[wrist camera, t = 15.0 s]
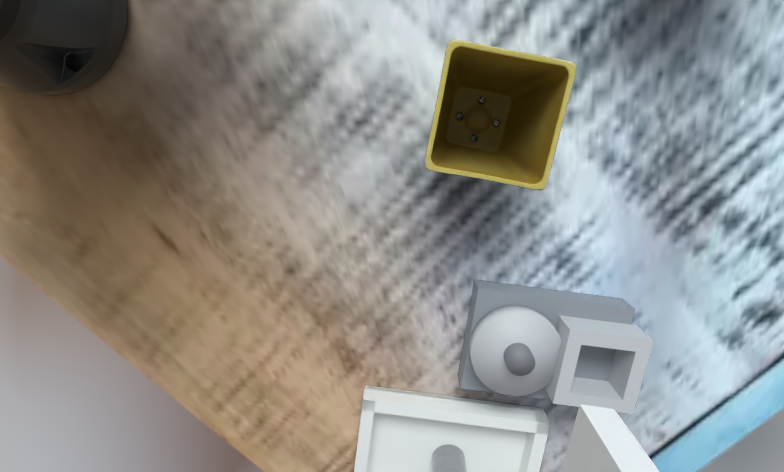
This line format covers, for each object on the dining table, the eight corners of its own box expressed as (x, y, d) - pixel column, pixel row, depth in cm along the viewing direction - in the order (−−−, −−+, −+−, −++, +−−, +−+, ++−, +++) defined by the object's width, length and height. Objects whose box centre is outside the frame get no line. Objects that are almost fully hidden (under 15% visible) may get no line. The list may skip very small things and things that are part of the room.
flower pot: (541, 76, 39) (580, 62, 30) (516, 178, 41) (546, 192, 32) (439, 57, 39) (448, 37, 30) (419, 160, 41) (422, 169, 32)
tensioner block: (457, 374, 46) (464, 408, 40) (474, 279, 43) (484, 302, 38) (603, 393, 46) (629, 430, 40) (627, 299, 43) (659, 325, 38)
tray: (352, 492, 49) (349, 511, 47) (365, 385, 46) (362, 399, 44) (518, 514, 49) (524, 534, 47) (542, 408, 46) (550, 423, 44)
